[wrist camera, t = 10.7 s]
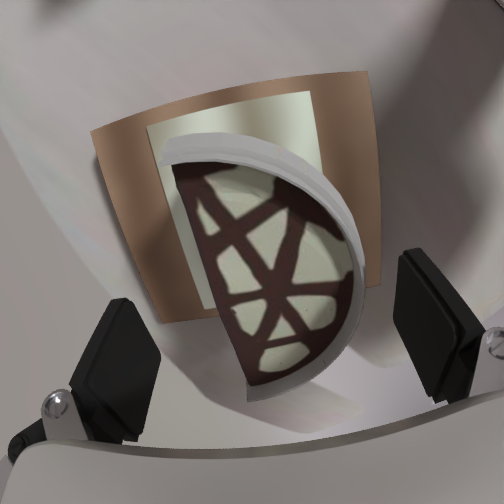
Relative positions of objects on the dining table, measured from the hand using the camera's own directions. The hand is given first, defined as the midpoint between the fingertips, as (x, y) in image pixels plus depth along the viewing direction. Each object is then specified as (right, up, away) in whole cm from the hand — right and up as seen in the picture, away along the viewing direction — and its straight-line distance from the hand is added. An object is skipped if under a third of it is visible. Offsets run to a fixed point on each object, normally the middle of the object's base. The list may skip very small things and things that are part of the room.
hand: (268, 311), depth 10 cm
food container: (+1, +5, +9) cm, 11 cm away
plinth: (-1, +6, +12) cm, 14 cm away
